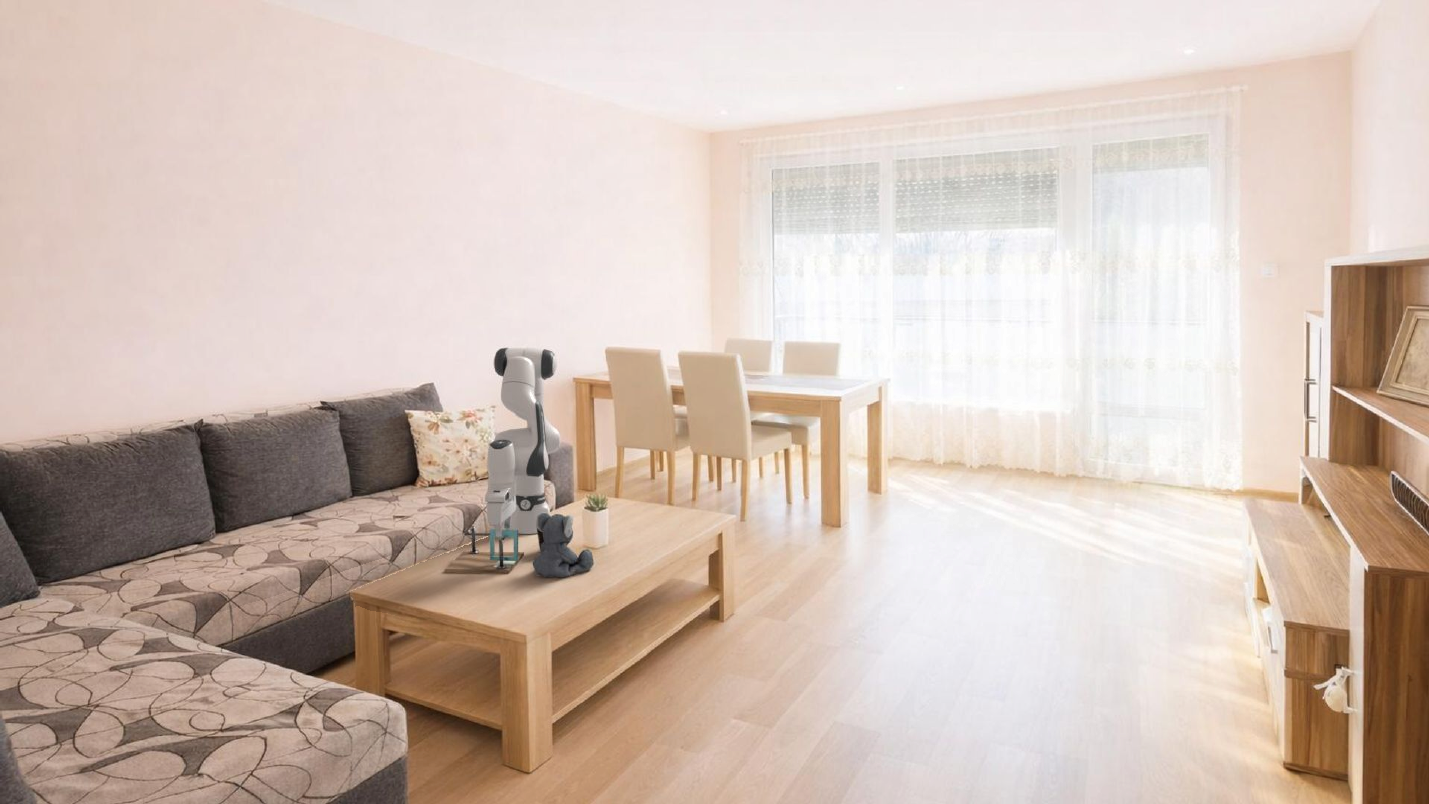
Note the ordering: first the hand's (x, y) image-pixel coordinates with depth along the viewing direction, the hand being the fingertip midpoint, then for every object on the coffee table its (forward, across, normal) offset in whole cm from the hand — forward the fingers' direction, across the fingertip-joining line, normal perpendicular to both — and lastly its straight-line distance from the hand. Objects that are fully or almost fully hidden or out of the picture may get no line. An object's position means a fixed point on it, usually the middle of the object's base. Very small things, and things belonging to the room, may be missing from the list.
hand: (503, 532), depth 279 cm
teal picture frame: (+9, 0, 0) cm, 9 cm away
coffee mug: (+12, -19, +11) cm, 25 cm away
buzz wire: (+11, -4, -7) cm, 14 cm away
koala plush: (+12, +3, +19) cm, 22 cm away
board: (+12, -4, -7) cm, 15 cm away
